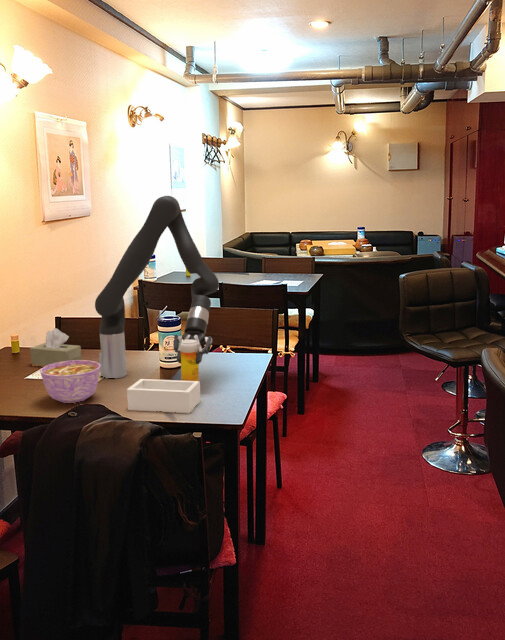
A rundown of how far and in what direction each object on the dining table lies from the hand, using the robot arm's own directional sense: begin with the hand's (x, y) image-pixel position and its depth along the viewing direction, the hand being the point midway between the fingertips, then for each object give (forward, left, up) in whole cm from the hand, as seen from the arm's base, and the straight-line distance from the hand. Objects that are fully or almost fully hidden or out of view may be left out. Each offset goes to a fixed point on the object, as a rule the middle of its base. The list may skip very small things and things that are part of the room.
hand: (188, 362), depth 221 cm
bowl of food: (-38, -12, -12) cm, 41 cm away
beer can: (0, +2, -8) cm, 8 cm away
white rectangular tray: (-4, -13, -11) cm, 18 cm away
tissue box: (-67, +29, -12) cm, 74 cm away
